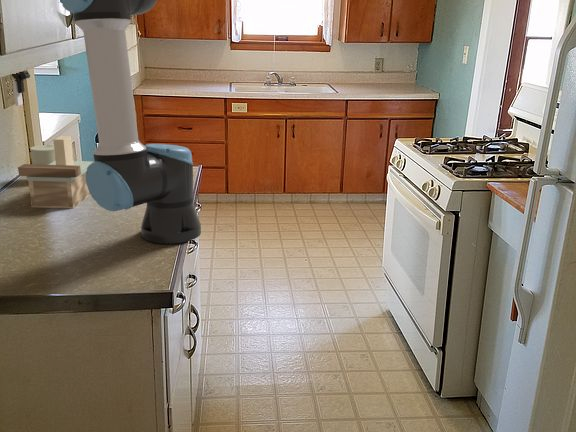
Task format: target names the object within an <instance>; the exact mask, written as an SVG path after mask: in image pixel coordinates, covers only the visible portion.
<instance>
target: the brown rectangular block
mask: <svg viewBox="0 0 576 432" xmlns="http://www.w3.org/2000/svg"><path fill="white" fill-rule="evenodd" d="M17 171H18V176H19V177H26V176H38V177H75V178H76V177H77V176H79V175H80V174H81V169H80V166H76V165H39V164H32V163H30V164H29V163H23V164H21V165H20V166H18V167H17Z"/></svg>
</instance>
